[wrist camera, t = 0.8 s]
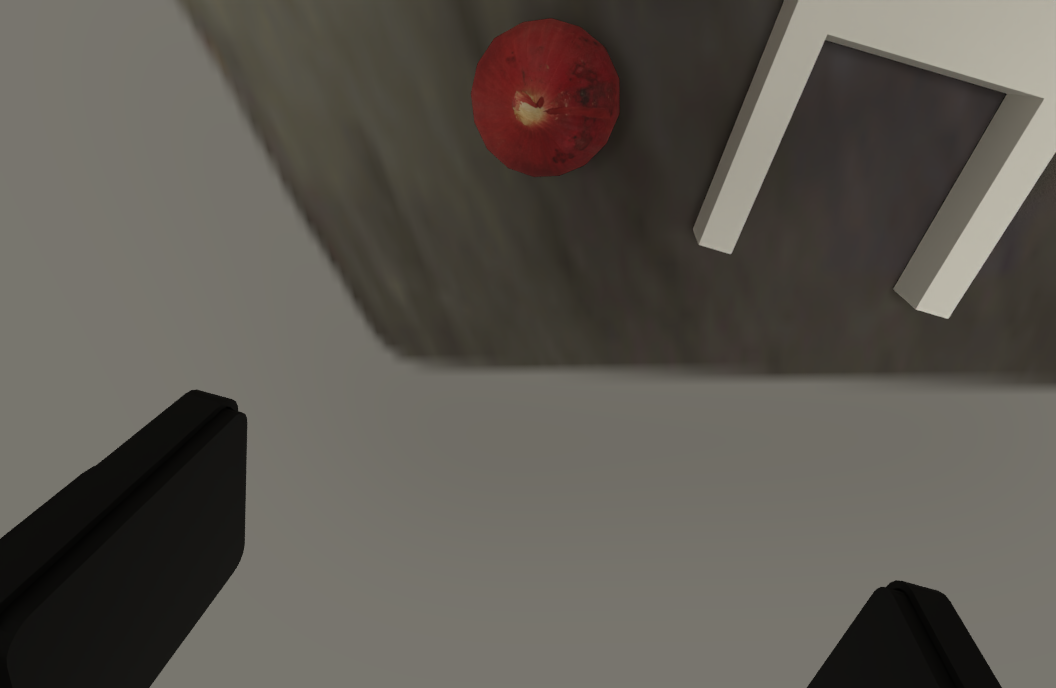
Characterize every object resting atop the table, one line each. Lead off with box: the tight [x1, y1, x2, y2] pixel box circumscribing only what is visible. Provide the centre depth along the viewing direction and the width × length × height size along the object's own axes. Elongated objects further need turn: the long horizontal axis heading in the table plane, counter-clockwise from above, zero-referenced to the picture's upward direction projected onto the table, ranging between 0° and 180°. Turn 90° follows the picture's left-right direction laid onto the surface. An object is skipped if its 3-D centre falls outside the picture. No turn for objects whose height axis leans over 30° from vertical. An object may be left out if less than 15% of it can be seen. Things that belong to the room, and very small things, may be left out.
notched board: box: [693, 0, 1056, 319], centre depth 26 cm, size 12×12×2 cm
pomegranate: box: [471, 18, 620, 177], centre depth 24 cm, size 6×6×8 cm
